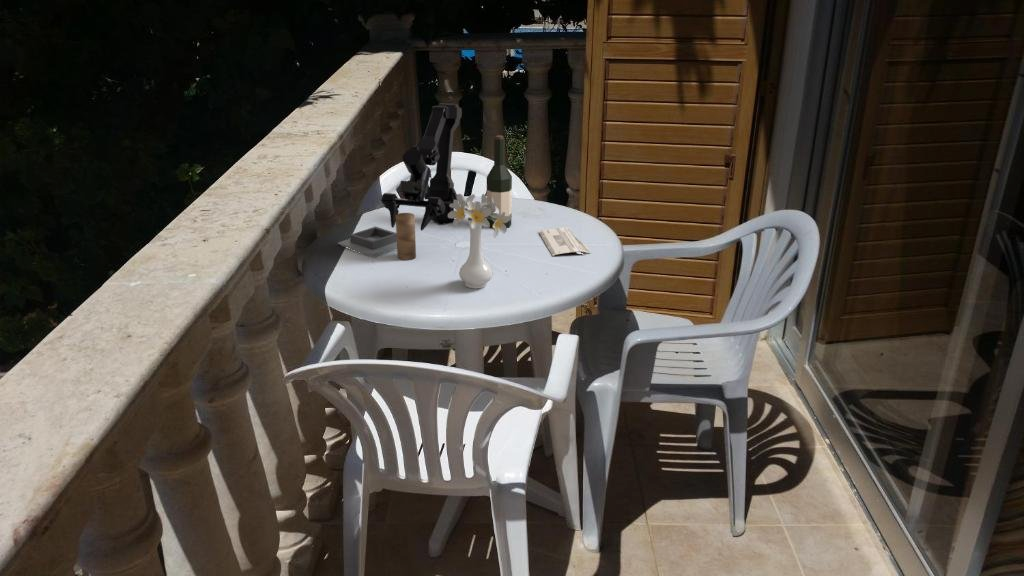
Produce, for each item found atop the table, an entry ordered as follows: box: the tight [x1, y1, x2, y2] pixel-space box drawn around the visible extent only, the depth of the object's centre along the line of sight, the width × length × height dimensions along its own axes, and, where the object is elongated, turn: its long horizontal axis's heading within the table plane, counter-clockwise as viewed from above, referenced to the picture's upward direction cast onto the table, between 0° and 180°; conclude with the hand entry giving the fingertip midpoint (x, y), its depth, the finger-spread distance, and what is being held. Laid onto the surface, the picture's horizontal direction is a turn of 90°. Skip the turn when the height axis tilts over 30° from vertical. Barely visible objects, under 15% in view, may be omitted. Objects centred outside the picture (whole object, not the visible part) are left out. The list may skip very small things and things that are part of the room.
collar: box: [337, 226, 397, 258], centre depth 252 cm, size 16×16×4 cm
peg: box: [395, 212, 417, 261], centre depth 241 cm, size 6×6×13 cm
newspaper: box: [538, 227, 592, 257], centre depth 256 cm, size 23×12×2 cm, turn 9°
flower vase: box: [448, 193, 513, 290], centre depth 220 cm, size 13×18×25 cm
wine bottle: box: [486, 134, 513, 230], centre depth 266 cm, size 8×8×30 cm
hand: (406, 228), depth 241 cm, fingers open, 9 cm apart
